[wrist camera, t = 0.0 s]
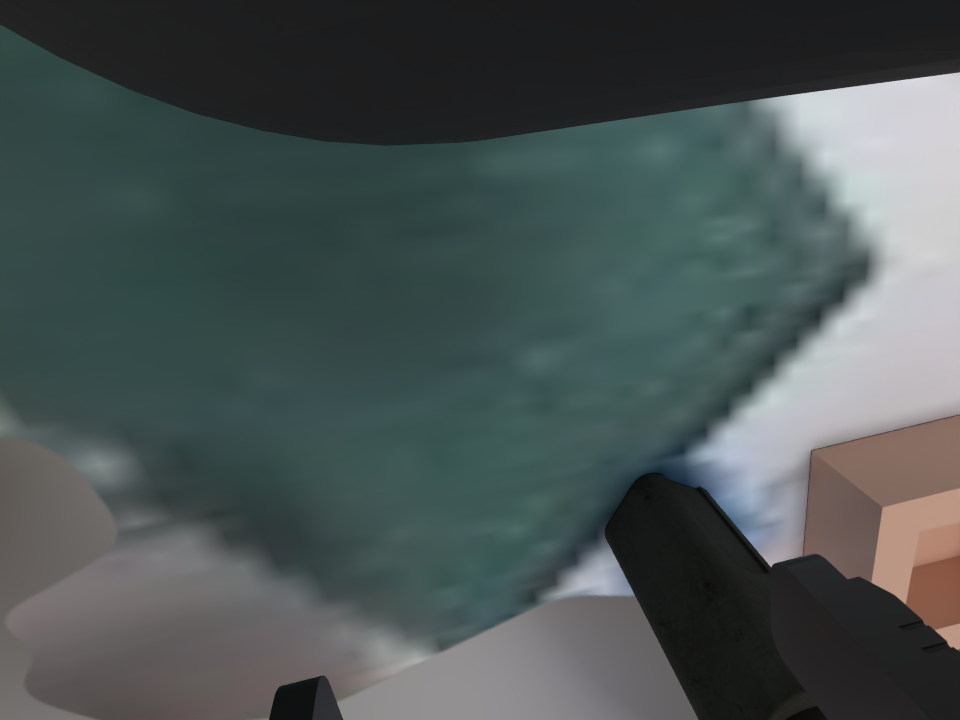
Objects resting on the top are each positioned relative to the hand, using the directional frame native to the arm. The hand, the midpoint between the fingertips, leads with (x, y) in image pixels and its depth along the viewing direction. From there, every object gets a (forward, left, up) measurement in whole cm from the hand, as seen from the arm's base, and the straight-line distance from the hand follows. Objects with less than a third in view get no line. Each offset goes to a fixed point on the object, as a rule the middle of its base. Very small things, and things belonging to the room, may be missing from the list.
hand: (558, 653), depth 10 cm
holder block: (+18, +24, -17) cm, 34 cm away
